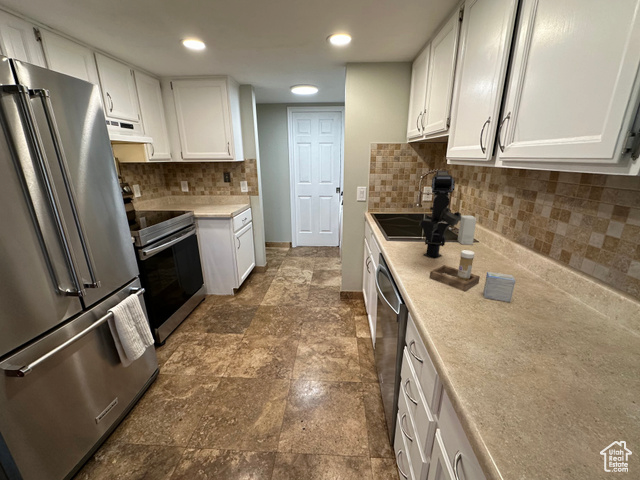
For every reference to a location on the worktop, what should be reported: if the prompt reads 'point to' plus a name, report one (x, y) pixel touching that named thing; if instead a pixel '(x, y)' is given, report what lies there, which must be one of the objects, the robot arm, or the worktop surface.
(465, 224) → the skincare box
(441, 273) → the frame
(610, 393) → the worktop surface
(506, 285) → the medicine box
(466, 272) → the sprinkles bottle
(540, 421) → the worktop surface
